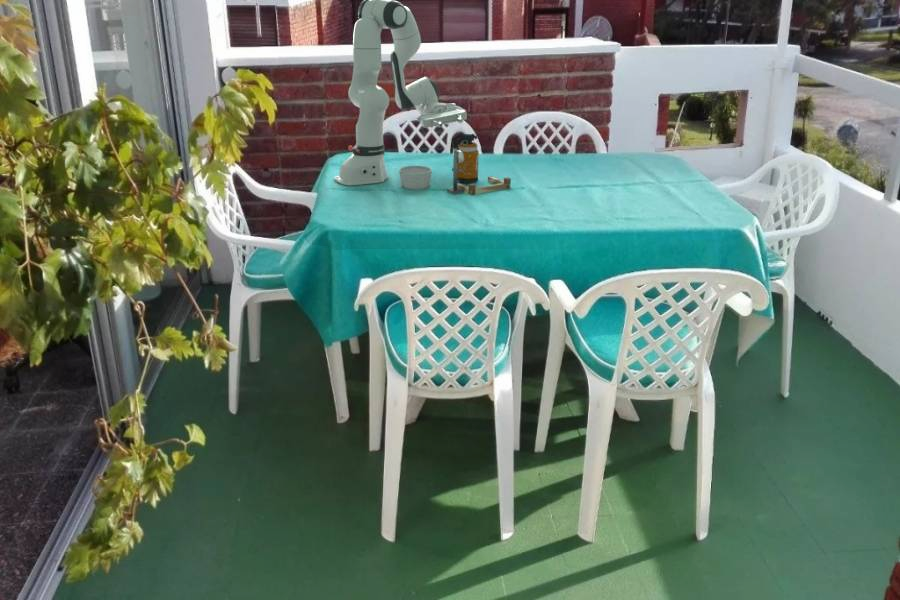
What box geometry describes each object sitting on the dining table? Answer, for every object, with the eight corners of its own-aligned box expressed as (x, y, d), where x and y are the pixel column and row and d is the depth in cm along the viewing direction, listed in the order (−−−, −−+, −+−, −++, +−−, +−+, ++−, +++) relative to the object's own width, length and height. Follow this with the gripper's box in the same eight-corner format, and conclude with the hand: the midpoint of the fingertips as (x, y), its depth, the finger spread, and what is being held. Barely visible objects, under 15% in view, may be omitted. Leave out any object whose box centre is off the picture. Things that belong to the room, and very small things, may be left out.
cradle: (452, 187, 340) (452, 178, 338) (491, 180, 350) (491, 171, 349) (471, 195, 330) (471, 185, 329) (510, 187, 340) (510, 178, 339)
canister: (478, 184, 345) (479, 136, 337) (451, 184, 345) (451, 135, 337) (477, 178, 353) (478, 131, 345) (451, 178, 353) (452, 130, 345)
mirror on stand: (453, 194, 331) (453, 151, 324) (446, 191, 335) (446, 148, 328) (465, 192, 334) (466, 149, 327) (458, 189, 338) (459, 146, 331)
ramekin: (427, 191, 335) (427, 174, 332) (395, 189, 337) (395, 172, 334) (434, 182, 347) (434, 166, 344) (403, 181, 349) (403, 164, 346)
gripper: (414, 111, 354) (427, 120, 343) (457, 102, 361) (472, 111, 350) (415, 125, 357) (428, 135, 347) (458, 116, 364) (472, 125, 354)
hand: (450, 123), depth 349 cm, fingers open, 8 cm apart
